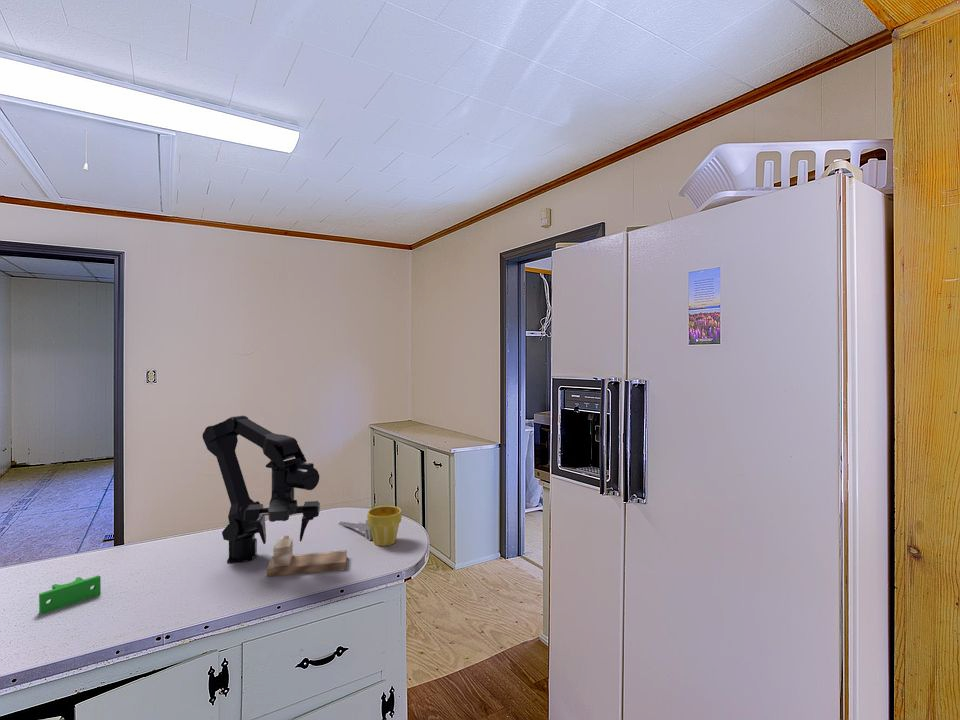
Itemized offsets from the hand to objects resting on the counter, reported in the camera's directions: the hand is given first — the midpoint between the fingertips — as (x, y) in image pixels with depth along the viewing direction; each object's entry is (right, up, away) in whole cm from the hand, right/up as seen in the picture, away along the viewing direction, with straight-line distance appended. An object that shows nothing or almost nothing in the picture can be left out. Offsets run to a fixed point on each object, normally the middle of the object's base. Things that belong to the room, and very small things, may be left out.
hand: (282, 542), depth 134 cm
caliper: (+13, -7, +28) cm, 31 cm away
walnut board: (+6, -7, +2) cm, 10 cm away
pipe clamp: (-43, -8, -18) cm, 47 cm away
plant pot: (+24, -7, +19) cm, 31 cm away
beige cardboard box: (0, -5, +2) cm, 5 cm away
